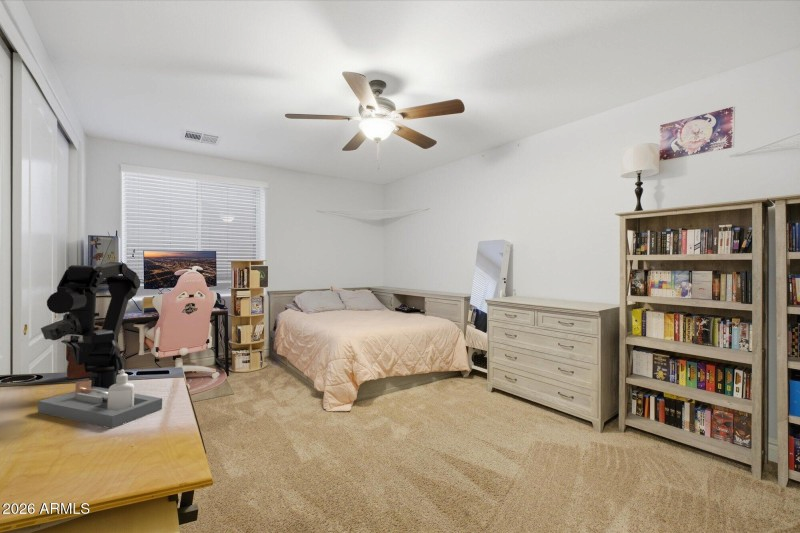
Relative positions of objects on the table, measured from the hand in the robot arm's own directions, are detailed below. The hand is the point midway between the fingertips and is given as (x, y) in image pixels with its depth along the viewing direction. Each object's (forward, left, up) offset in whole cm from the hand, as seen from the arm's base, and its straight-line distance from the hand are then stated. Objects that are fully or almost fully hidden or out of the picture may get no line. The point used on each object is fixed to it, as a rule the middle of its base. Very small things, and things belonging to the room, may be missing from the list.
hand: (79, 364), depth 103 cm
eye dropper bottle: (0, +16, -12) cm, 20 cm away
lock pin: (0, +7, -8) cm, 11 cm away
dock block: (0, +9, -12) cm, 15 cm away
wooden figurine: (-20, -28, -12) cm, 36 cm away
